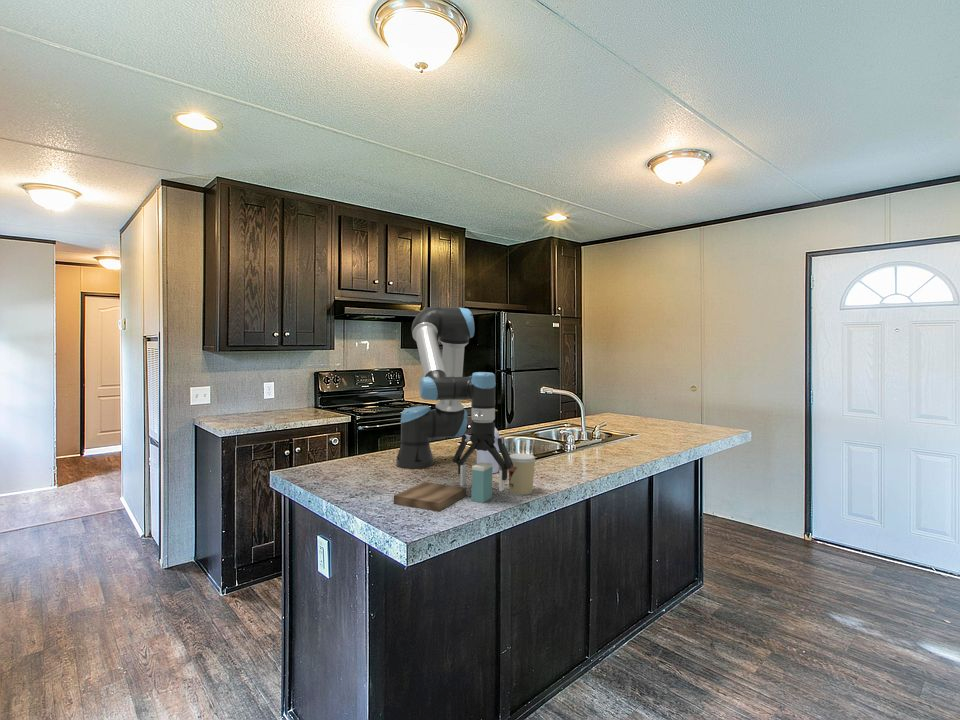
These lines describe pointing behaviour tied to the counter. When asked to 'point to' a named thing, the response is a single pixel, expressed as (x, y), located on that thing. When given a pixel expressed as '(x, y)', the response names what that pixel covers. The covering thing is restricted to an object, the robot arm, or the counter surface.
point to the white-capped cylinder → (521, 474)
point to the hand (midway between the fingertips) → (482, 487)
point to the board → (430, 496)
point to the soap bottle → (489, 455)
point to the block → (481, 482)
